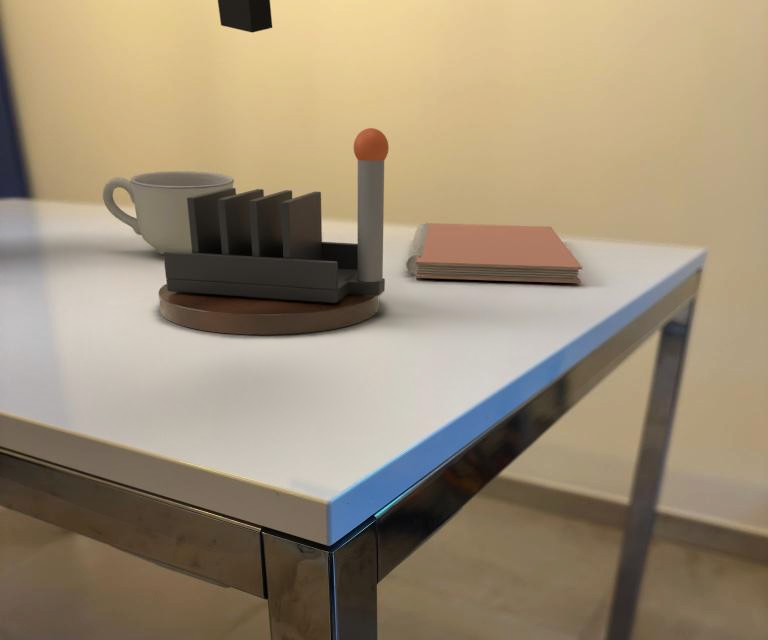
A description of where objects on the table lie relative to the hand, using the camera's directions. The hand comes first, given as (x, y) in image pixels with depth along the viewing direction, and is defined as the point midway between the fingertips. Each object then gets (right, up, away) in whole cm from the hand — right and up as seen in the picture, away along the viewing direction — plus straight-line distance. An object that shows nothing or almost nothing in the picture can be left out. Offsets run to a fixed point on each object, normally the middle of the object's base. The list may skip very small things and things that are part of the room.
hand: (246, 26), depth 44 cm
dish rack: (0, -9, +20) cm, 22 cm away
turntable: (-2, -10, +21) cm, 24 cm away
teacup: (-15, +1, +43) cm, 46 cm away
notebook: (+19, +1, +43) cm, 47 cm away
